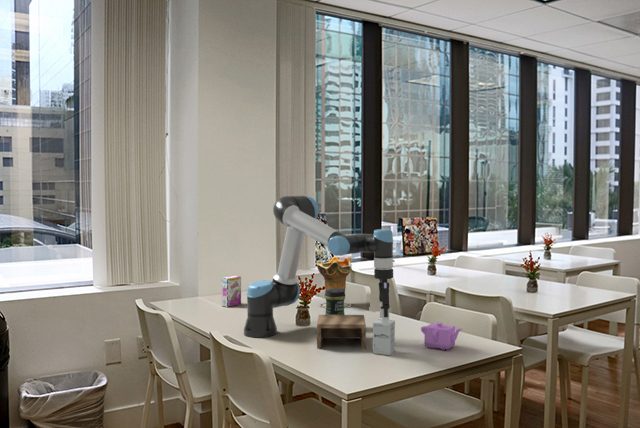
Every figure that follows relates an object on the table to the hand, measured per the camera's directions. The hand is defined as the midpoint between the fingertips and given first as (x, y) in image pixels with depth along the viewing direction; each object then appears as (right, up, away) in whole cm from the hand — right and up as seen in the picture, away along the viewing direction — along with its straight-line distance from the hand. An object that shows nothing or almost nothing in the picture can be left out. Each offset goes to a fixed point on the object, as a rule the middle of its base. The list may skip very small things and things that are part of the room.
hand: (384, 321), depth 218 cm
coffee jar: (-18, -11, +43) cm, 48 cm away
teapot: (+24, -12, +7) cm, 28 cm away
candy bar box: (-76, -10, +96) cm, 123 cm away
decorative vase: (-17, -10, +94) cm, 96 cm away
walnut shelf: (-17, -12, +15) cm, 26 cm away
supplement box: (0, -13, +1) cm, 13 cm away
